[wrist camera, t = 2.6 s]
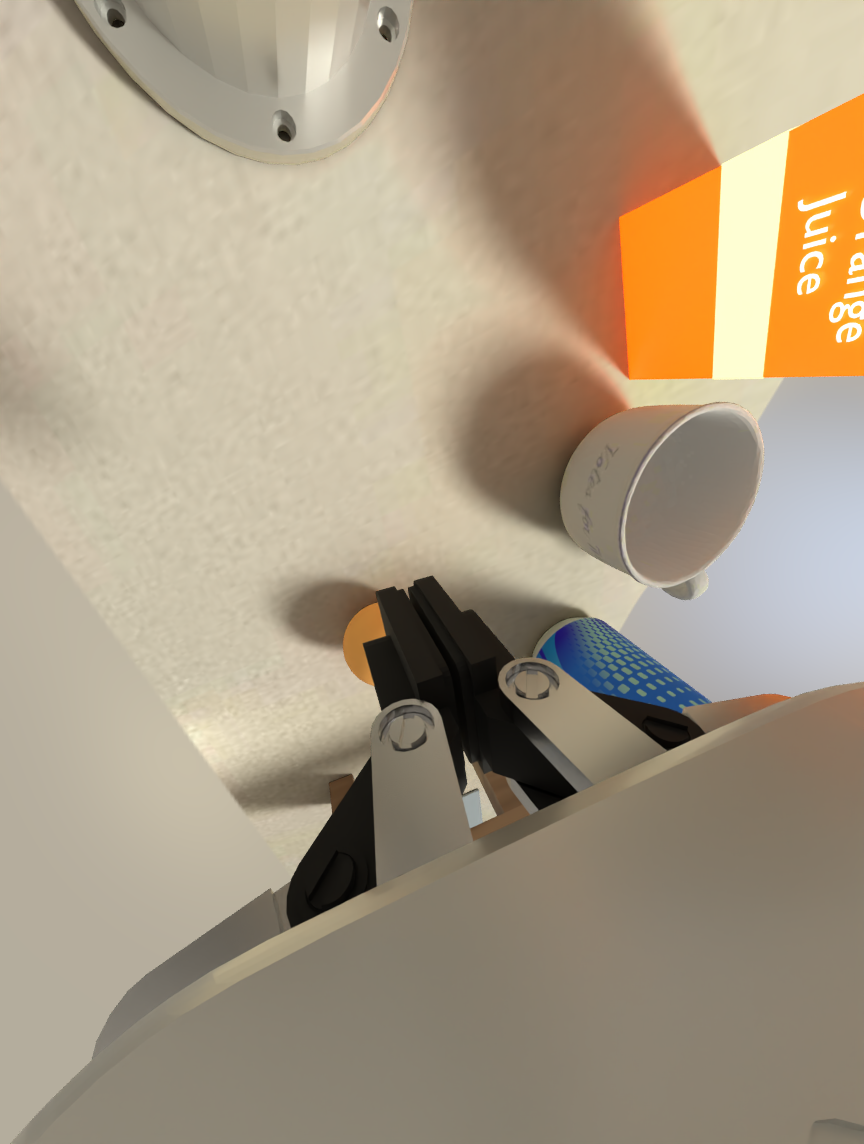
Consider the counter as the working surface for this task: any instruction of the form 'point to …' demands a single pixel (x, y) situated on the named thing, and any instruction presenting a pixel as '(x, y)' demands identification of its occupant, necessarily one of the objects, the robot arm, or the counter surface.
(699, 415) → the teacup
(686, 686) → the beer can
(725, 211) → the orange juice
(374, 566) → the counter surface
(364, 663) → the ball
